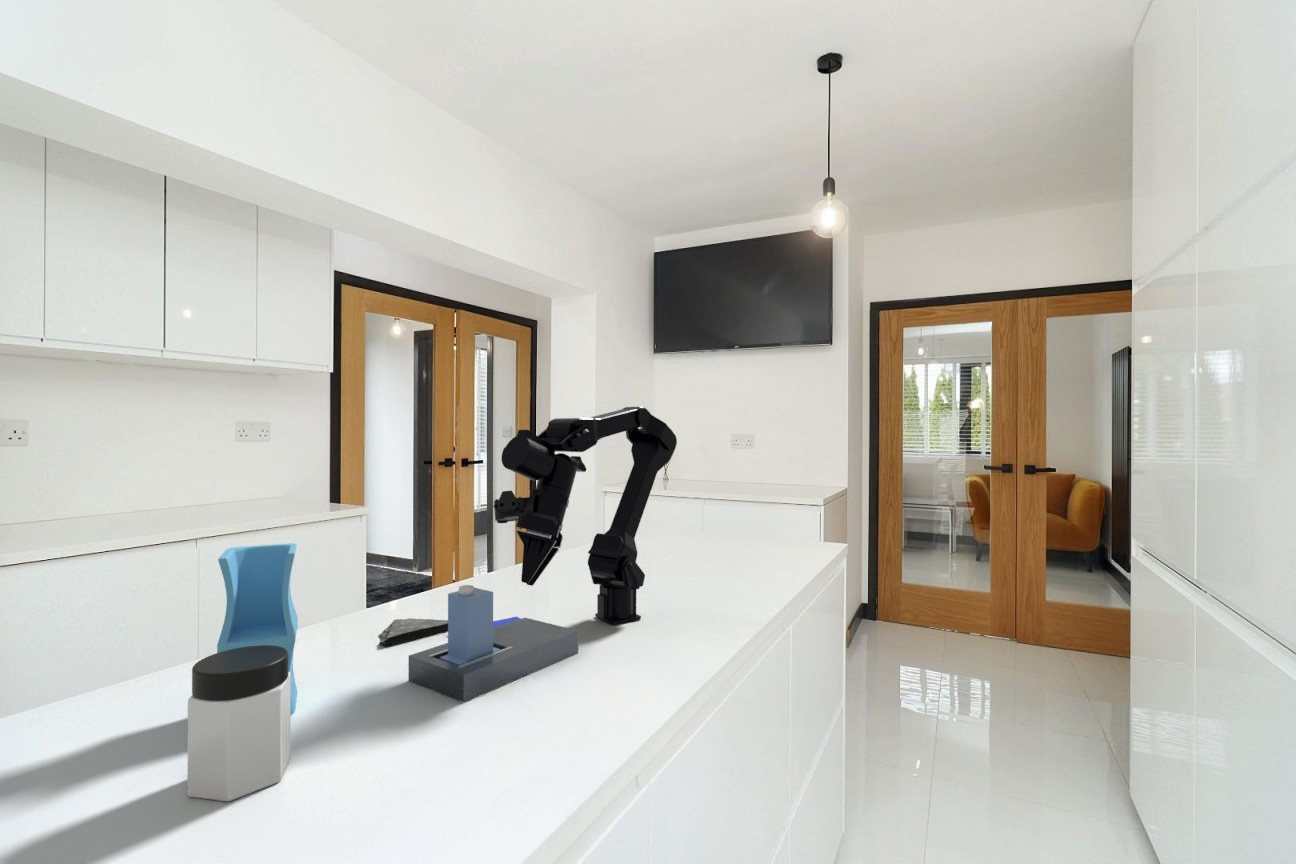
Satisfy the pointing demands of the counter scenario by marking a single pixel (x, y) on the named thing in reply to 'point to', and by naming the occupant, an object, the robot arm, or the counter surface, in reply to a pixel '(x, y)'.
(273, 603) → the vase
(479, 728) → the counter surface
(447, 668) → the plate
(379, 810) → the counter surface
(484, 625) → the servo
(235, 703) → the jar
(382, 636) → the stone
